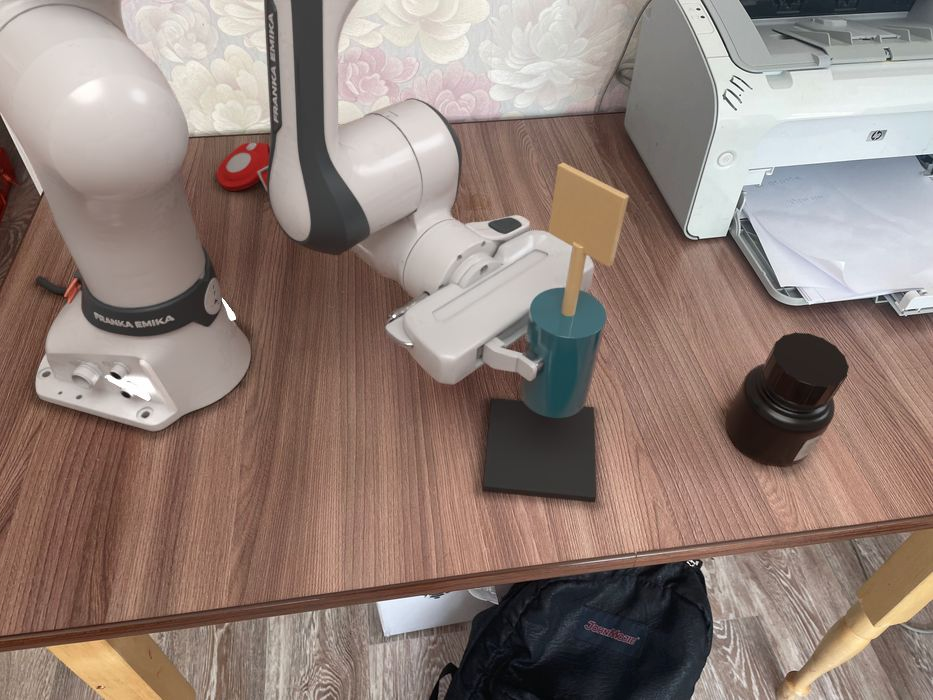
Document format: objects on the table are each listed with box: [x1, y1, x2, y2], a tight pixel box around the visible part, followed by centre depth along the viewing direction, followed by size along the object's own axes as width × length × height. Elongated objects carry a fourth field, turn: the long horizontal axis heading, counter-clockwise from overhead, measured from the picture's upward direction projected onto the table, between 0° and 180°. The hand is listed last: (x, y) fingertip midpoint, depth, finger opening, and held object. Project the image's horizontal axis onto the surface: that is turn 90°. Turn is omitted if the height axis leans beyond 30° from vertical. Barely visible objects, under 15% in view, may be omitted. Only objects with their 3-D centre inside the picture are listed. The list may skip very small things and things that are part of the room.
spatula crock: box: [518, 162, 630, 418], centre depth 58 cm, size 6×6×22 cm
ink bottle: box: [725, 332, 850, 467], centre depth 71 cm, size 10×9×12 cm
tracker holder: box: [216, 142, 270, 192], centre depth 102 cm, size 12×4×10 cm
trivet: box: [482, 397, 597, 503], centre depth 73 cm, size 11×11×1 cm
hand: (568, 349), depth 62 cm, fingers closed on spatula crock, 6 cm apart
